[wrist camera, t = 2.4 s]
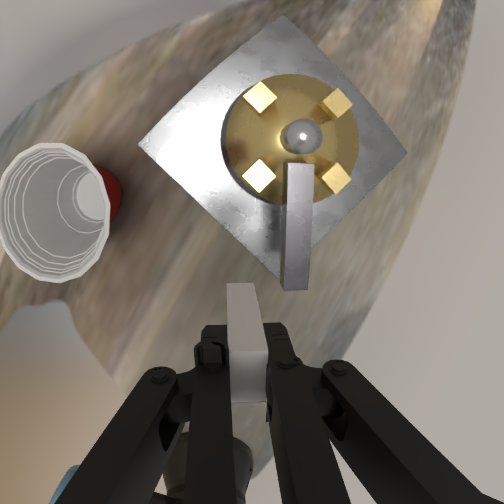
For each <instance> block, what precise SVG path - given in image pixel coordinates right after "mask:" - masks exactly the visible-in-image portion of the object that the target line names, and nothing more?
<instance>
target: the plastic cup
mask: <svg viewBox="0 0 504 504" xmlns="http://www.w3.org/2000/svg"><path fill="white" fill-rule="evenodd" d="M121 195H122V191H121V188H120V184H119V182H118V180H117V179H116V178H115V177H114V175H113V174H112V173H111V172H109V171H107V170H105V169H103V168H101V167H98V166H96V165H94V164H92V163H91V162H90V161H89V159H88V158H87V157H86V155H85V154H83V153H81V152H79V151H77V150H75V149H73V148H71V147H69V146H67V145H66V144H64V143H38V144H37V145H35V146H33V147H31V148H29V149H27V150H25V151H23V152H21V153H19V154H18V155H17V156H16V158H15V159H14V160H13V161H12V163H11V164H10V165H9V166H8V168H7V169H6V170H5V172H4V173H3V175H2V178H1V181H0V239H1V242H2V245H3V248H4V250H5V251H6V252H7V254H8V255H9V256H10V258H11V259H12V260H13V262H14V263H15V264H16V265H17V267H18V268H19V269H21V270H23V271H24V272H26V273H27V274H29V275H31V276H32V277H34V278H35V279H37V280H41V281H48V282H55V283H62V282H65V281H68V280H71V279H74V278H77V277H80V276H82V275H83V274H84V273H85V272H86V271H87V270H88V269H89V268H90V267H91V266H92V265H93V264H94V263H95V262H96V261H97V260H98V259H99V257H100V254H101V252H102V250H103V247H104V245H105V243H106V240H107V238H108V236H109V225H110V223H111V222H112V219H113V217H114V216H115V215H116V213H117V211H118V209H119V207H120V205H121Z"/></svg>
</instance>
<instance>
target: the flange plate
mask: <svg viewBox="0 0 504 504" xmlns="http://www.w3.org/2000/svg"><path fill="white" fill-rule="evenodd" d="M280 74H300V75H306V76H309V77H313V78H315V79H318V80H320V81H322V82H324V83H326V84H327V85H329V86H330V87H332V88H333V89H334V90H335V89H336V88H339V89H340V90H341V92H342V93H343V94H344V95H345V96H346V97H347V98H348V99H349V101H350V102H351V103H352V104H353V105H352V106H351V107H350V109H351V111H352V113H353V115H354V117H355V120H356V123H357V126H358V132H359V153H358V157H357V161H356V164H355V167H354V169H353V171H352V173H351V175H350V176H349V177H350V178H351V179H352V180H350V181H349V182H348V183H347V184H346V185H345V186H344V187H343V188H342V189H341V190H340V191H339V192H338V193H337V194H332V195H331V196H329V197H327V198H325V199H323V200H321V201H319V202H316V203H313V216H312V234H311V249H312V248H313V247H314V246H315V245H316V244H317V243H318V242H319V241H320V240H321V239H322V238H323V237H324V236H325V235H326V234H327V233H329V232H330V231H331V230H332V229H333V228H334V227H335V226H336V225H337V224H338V223H339V222H340V221H341V220H342V219H343V218H344V217H345V216H346V215H347V214H348V213H349V212H350V211H351V210H352V209H353V208H354V207H355V206H356V205H357V204H358V203H359V202H360V201H361V200H362V199H363V198H364V197H365V196H366V195H367V194H368V193H369V192H370V191H371V190H372V189H373V188H374V187H375V186H376V185H377V184H378V183H379V182H380V181H381V180H382V179H383V178H384V177H385V176H386V175H387V174H388V173H389V172H390V171H391V170H392V169H393V168H394V167H395V166H396V165H397V164H398V163H399V162H400V161H401V160H402V159H403V157H404V156H405V155H406V154H407V152H406V150H405V149H404V147H403V146H402V145H401V143H400V142H399V140H398V139H397V138H396V136H395V135H394V134H393V132H392V131H391V130H390V128H389V127H388V126H387V125H386V123H385V122H384V121H383V119H382V118H381V117H380V116H379V114H378V113H377V112H376V111H375V109H374V108H373V107H372V106H371V105H370V103H369V102H368V101H367V100H366V99H365V97H364V96H363V95H362V94H361V93H360V92H359V90H358V89H357V88H356V87H355V86H354V85H353V84H352V82H351V81H350V80H349V79H348V78H347V77H346V76H345V75H344V74H343V73H342V71H341V70H340V69H339V68H338V67H337V66H336V65H335V64H334V63H333V62H332V61H331V60H330V59H329V58H328V57H327V56H326V55H325V54H324V53H323V52H322V51H321V50H320V49H319V48H318V47H317V46H316V45H315V44H314V43H313V42H312V41H311V40H310V39H309V38H308V37H307V36H306V35H305V34H304V33H303V32H301V31H300V30H299V29H298V28H297V27H296V26H295V25H294V24H293V23H292V22H290V21H289V20H288V19H287V18H286V17H285V16H284V15H282V16H280V17H279V18H278V19H276V20H275V21H273V22H272V23H271V24H269V25H268V26H267V27H265V28H264V29H263V30H261V31H260V32H259V33H257V34H256V35H255V36H254V37H252V38H251V39H250V40H248V41H247V42H246V43H245V44H243V45H242V46H241V47H240V48H238V49H237V50H236V51H235V52H234V53H232V54H231V55H230V56H229V57H228V58H226V59H225V60H224V61H223V62H222V63H221V64H219V65H218V66H217V67H216V68H215V69H214V70H213V71H211V72H210V73H209V74H208V75H207V76H206V77H205V78H204V79H202V80H201V81H200V82H199V83H198V84H197V85H196V86H195V87H194V88H193V89H192V90H191V91H190V92H189V93H187V94H186V95H185V96H184V97H183V98H182V99H181V100H180V101H179V102H178V103H177V104H176V105H175V106H174V107H173V108H172V109H171V110H170V111H169V112H168V113H167V114H166V115H165V116H164V117H163V118H162V119H161V120H160V121H159V122H158V124H157V125H156V126H155V127H154V128H153V129H152V130H151V131H150V132H149V133H148V134H147V135H146V136H145V137H144V139H143V140H142V141H141V142H140V143H139V144H138V145H139V146H140V147H141V148H142V149H143V150H144V151H145V152H146V153H147V154H148V155H149V156H150V157H151V158H153V159H154V160H155V161H156V162H157V163H158V164H159V165H160V166H161V167H162V168H163V169H164V170H165V171H166V172H167V173H168V174H169V175H170V176H171V177H172V178H173V179H174V180H176V181H177V182H178V183H179V184H180V185H181V186H182V187H183V188H184V189H185V190H186V191H187V192H188V193H189V194H190V195H191V196H192V197H193V198H194V199H195V200H196V201H197V202H199V203H200V204H201V205H202V206H203V207H204V208H205V209H206V210H207V211H208V212H209V213H210V214H211V215H212V216H213V217H214V218H215V219H216V220H217V221H218V222H219V223H221V224H222V225H223V226H224V227H225V228H226V229H227V230H228V231H229V232H230V233H231V234H232V235H233V236H234V237H235V238H236V239H237V240H238V241H239V242H240V243H241V244H242V245H244V246H245V247H246V248H247V249H248V250H249V251H250V252H251V253H252V254H253V255H254V256H255V257H256V258H257V259H258V260H259V261H260V262H261V263H262V264H263V265H264V266H266V267H267V268H268V269H269V270H270V271H271V272H272V273H273V274H274V275H275V276H276V277H277V278H278V279H280V258H281V230H282V204H277V203H274V202H271V201H268V200H266V199H264V198H262V197H261V196H259V195H258V194H256V193H255V192H253V191H252V190H251V189H250V188H249V187H247V186H246V185H245V183H244V182H243V181H242V180H241V179H240V178H239V176H238V175H237V173H236V172H235V170H234V168H233V166H232V164H231V162H230V159H229V156H228V152H227V147H226V132H227V125H228V120H229V117H230V114H231V112H232V110H233V108H234V106H235V104H236V102H237V101H238V100H239V98H240V97H241V96H242V95H243V94H244V93H245V92H246V91H247V90H248V89H249V88H250V87H252V86H253V85H254V84H256V83H258V82H260V81H261V80H263V79H266V78H268V77H271V76H275V75H280Z"/></svg>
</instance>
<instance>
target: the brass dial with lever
mask: <svg viewBox="0 0 504 504" xmlns="http://www.w3.org/2000/svg"><path fill="white" fill-rule="evenodd" d="M352 105H353V104H352V103H351V102H350V101H349V99H348V98H347V97H346V96H345V95H344V94H343V93H342V92H341V90H340V89H339V88H336V89H335V90H334V89H333V88H332V87H330V86H329V85H327V84H326V83H324V82H322V81H320V80H318V79H315V78H313V77H309V76H306V75H300V74H280V75H275V76H271V77H268V78H266V79H263V80H261V81H260V82H258V83H256V84H254V85H253V86H252V87H250V88H249V89H248V90H247V91H246V92H245V93H244V94H243V95H242V96H241V97H240V98H239V100H238V101H237V102H236V104H235V106H234V108H233V110H232V112H231V114H230V117H229V120H228V125H227V132H226V147H227V152H228V156H229V159H230V162H231V164H232V166H233V168H234V170H235V172H236V173H237V175H238V176H239V178H240V179H241V180H242V181H243V182H244V183H245V185H246V186H247V187H249V188H250V189H251V190H252V191H253V192H255V193H256V194H258V195H259V196H261V197H262V198H264V199H266V200H268V201H271V202H274V203H277V204H282V230H281V258H280V284H281V286H282V288H283V290H284V291H288V290H308V280H309V266H310V251H311V234H312V216H313V203H316V202H319V201H321V200H323V199H325V198H327V197H329V196H331V195H332V194H337V193H338V192H339V191H340V190H341V189H342V188H343V187H344V186H345V185H346V184H347V183H348V182H349V181H350V180H352V179H351V178H350V177H349V176H350V175H351V173H352V171H353V169H354V167H355V164H356V161H357V157H358V153H359V132H358V126H357V123H356V120H355V117H354V115H353V113H352V111H351V109H350V107H351V106H352Z"/></svg>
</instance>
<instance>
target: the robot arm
mask: <svg viewBox="0 0 504 504" xmlns="http://www.w3.org/2000/svg"><path fill="white" fill-rule="evenodd" d="M194 357H195V368H193V369H192V370H190V371H188V372H184V373H180V374H176V372H175V371H174V370H173V369H171V368H168V367H154V368H152V369H149V370H148V371H147V372H145V373H144V375H143V376H142V377H141V379H140V380H139V382H138V383H137V384H136V386H135V387H134V389H133V390H132V392H131V393H130V394H129V396H128V397H127V399H126V400H125V402H124V403H123V405H122V406H121V407H120V409H119V410H118V411H117V413H116V414H115V416H114V417H113V419H112V420H111V422H110V423H109V424H108V426H107V427H106V429H105V430H104V431H103V433H102V435H101V436H100V437H99V439H98V440H97V442H96V443H95V444H94V446H93V447H92V449H91V450H90V452H89V453H88V455H87V456H86V458H85V459H84V461H83V462H82V463H81V465H75V466H73V467H71V468H70V469H69V470H68V471H67V472H66V474H65V475H64V477H63V479H62V480H61V482H60V484H59V486H58V487H57V489H56V491H55V493H54V495H53V496H52V498H51V500H50V503H49V504H246V501H245V494H246V490H247V487H248V484H249V480H250V476H251V474H252V471H253V458H252V453H251V451H250V449H249V448H248V447H247V446H246V445H245V444H244V443H243V442H241V441H239V440H237V439H235V438H233V432H232V412H231V403H245V402H266V397H267V413H266V422H269V427H270V433H271V439H272V445H273V451H274V457H275V463H276V469H277V474H278V481H279V487H280V493H281V498H282V504H351V502H350V499H349V496H348V493H347V490H346V487H345V484H344V481H343V478H342V475H341V472H340V469H339V466H338V463H337V460H336V458H335V455H334V452H333V449H332V446H331V444H330V441H331V442H332V443H333V445H334V446H335V448H336V449H337V450H338V452H339V453H340V454H341V456H342V457H343V459H344V460H345V461H346V463H347V464H348V465H349V467H350V468H351V469H352V471H353V472H354V474H355V475H356V476H357V478H358V479H359V480H360V482H361V483H362V484H363V486H364V487H365V488H366V490H367V491H368V492H369V494H370V495H371V496H372V498H373V499H374V500H375V502H376V503H377V504H504V503H503V502H500V501H498V500H496V499H494V498H491V497H489V496H487V495H485V494H482V493H481V492H480V491H479V490H478V489H477V488H476V487H475V486H474V485H473V484H472V483H471V482H470V481H469V480H468V479H467V478H466V477H465V476H464V475H463V474H462V473H461V472H460V471H459V470H458V469H456V467H455V466H454V465H453V464H452V463H451V462H449V460H448V459H446V457H444V456H443V455H442V454H441V453H440V452H439V451H438V450H437V449H436V448H435V447H434V446H433V445H432V444H431V443H430V442H429V441H428V440H427V439H426V438H425V437H424V436H423V435H422V434H421V433H420V432H419V431H418V430H417V429H416V428H415V427H414V426H413V425H412V424H411V423H410V422H409V421H408V420H407V419H406V418H405V417H404V416H403V415H402V414H401V413H400V412H399V411H398V410H397V409H396V408H395V407H394V406H393V405H392V404H391V403H390V402H389V401H388V400H387V399H386V398H385V397H384V396H383V395H382V394H381V393H380V392H379V391H378V390H377V389H376V388H375V387H374V386H373V385H372V384H371V383H370V382H369V381H368V380H367V379H366V378H365V377H364V376H363V375H362V374H361V373H360V372H359V371H358V370H357V369H356V368H355V367H354V366H353V365H352V364H350V363H349V362H346V361H344V360H330V361H328V362H326V363H325V364H324V365H323V368H314V367H309V366H306V365H303V362H302V361H301V359H300V358H298V357H297V356H295V353H294V350H293V347H292V344H291V341H290V338H289V335H288V332H287V329H286V327H285V326H284V325H282V324H281V323H262V319H261V314H260V310H259V305H258V300H257V296H256V291H255V286H254V283H227V325H206V326H205V328H204V329H203V330H202V333H201V342H199V343H198V344H197V345H195V347H194ZM188 421H190V425H189V433H184V434H181V432H182V430H183V427H184V424H185V422H188ZM329 439H330V440H329ZM162 473H163V478H164V482H165V485H166V489H167V496H166V495H163V494H160V493H157V492H154V490H155V488H156V486H157V484H158V482H159V479H160V477H161V475H162Z"/></svg>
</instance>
